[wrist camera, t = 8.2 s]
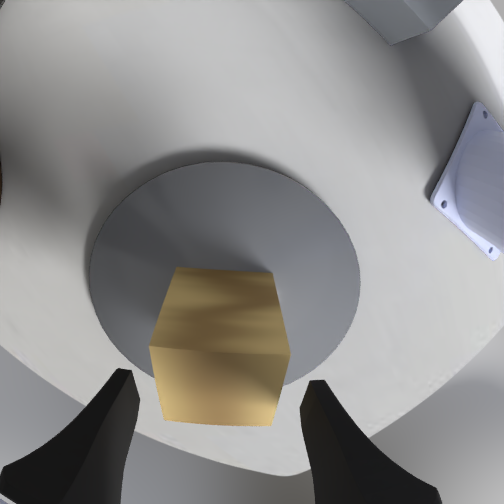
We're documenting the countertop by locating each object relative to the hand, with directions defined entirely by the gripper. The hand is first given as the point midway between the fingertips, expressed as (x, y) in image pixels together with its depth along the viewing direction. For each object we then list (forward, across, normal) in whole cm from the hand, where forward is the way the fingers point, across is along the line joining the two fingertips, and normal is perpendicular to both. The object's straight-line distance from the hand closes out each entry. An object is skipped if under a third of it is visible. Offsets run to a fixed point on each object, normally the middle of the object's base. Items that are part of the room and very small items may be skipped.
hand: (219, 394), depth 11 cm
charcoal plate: (+7, 0, 0) cm, 7 cm away
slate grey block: (+7, -7, -19) cm, 21 cm away
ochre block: (+6, 0, 0) cm, 6 cm away
